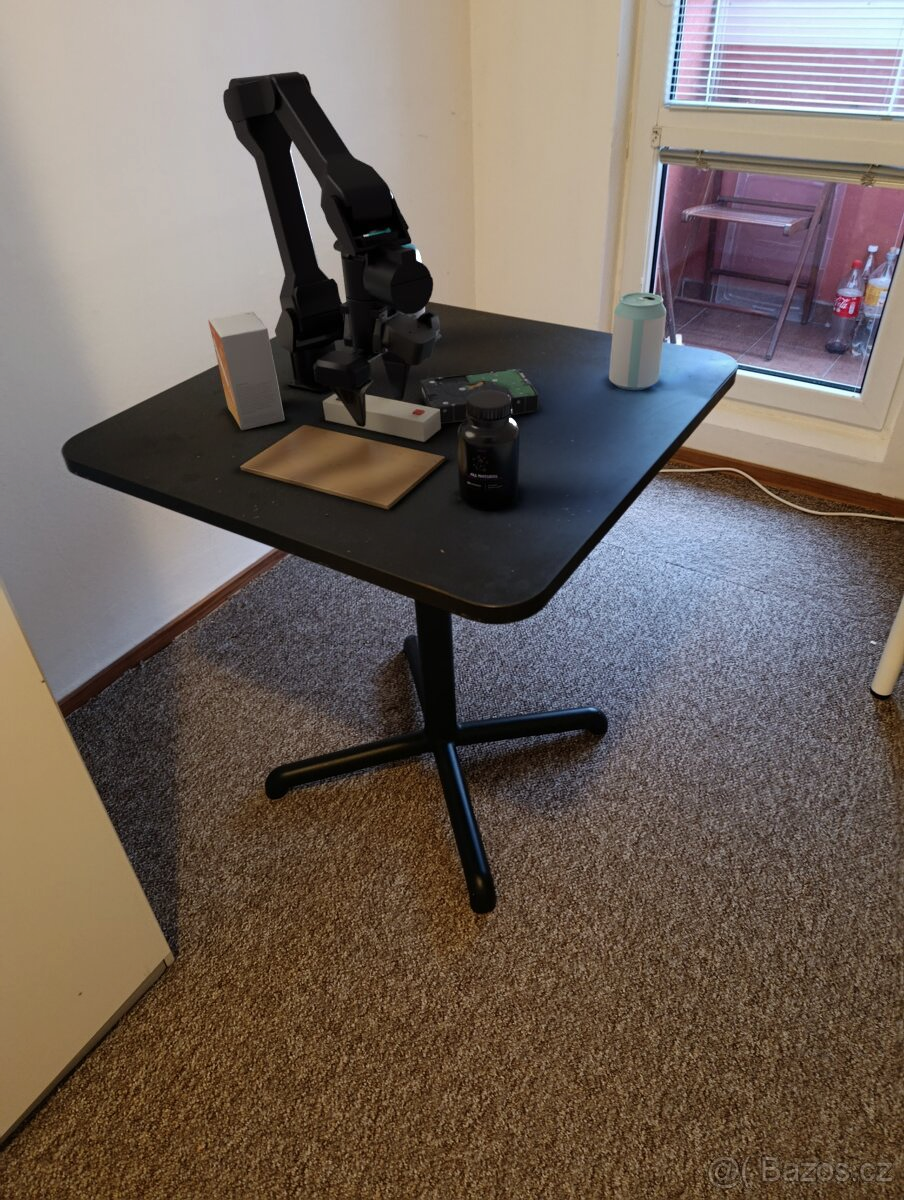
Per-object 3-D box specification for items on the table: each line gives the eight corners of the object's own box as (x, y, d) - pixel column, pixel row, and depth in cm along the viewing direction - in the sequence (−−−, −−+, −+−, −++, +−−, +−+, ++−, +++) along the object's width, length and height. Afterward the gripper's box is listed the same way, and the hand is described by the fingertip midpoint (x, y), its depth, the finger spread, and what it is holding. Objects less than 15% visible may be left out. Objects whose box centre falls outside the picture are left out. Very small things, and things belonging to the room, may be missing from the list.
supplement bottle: (474, 517, 89) (471, 417, 82) (450, 490, 94) (445, 393, 87) (529, 503, 91) (531, 404, 84) (502, 477, 97) (502, 381, 89)
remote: (325, 420, 111) (322, 399, 109) (343, 407, 114) (341, 387, 112) (424, 442, 105) (422, 420, 103) (441, 428, 108) (440, 407, 106)
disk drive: (434, 428, 108) (540, 412, 110) (432, 408, 107) (540, 393, 109) (420, 397, 116) (519, 383, 118) (418, 379, 115) (519, 365, 117)
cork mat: (240, 470, 101) (239, 466, 100) (304, 428, 109) (304, 424, 109) (388, 509, 92) (388, 505, 91) (445, 460, 100) (444, 456, 100)
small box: (227, 409, 115) (206, 318, 107) (270, 400, 117) (253, 310, 109) (240, 431, 110) (219, 336, 102) (285, 421, 111) (268, 327, 104)
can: (611, 371, 121) (618, 289, 113) (659, 374, 119) (669, 291, 112) (605, 390, 115) (612, 305, 108) (656, 393, 114) (666, 307, 106)
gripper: (381, 326, 89) (393, 453, 99) (462, 279, 102) (466, 396, 111) (302, 313, 94) (320, 436, 103) (389, 270, 107) (398, 383, 116)
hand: (380, 412), depth 108 cm, fingers open, 9 cm apart
